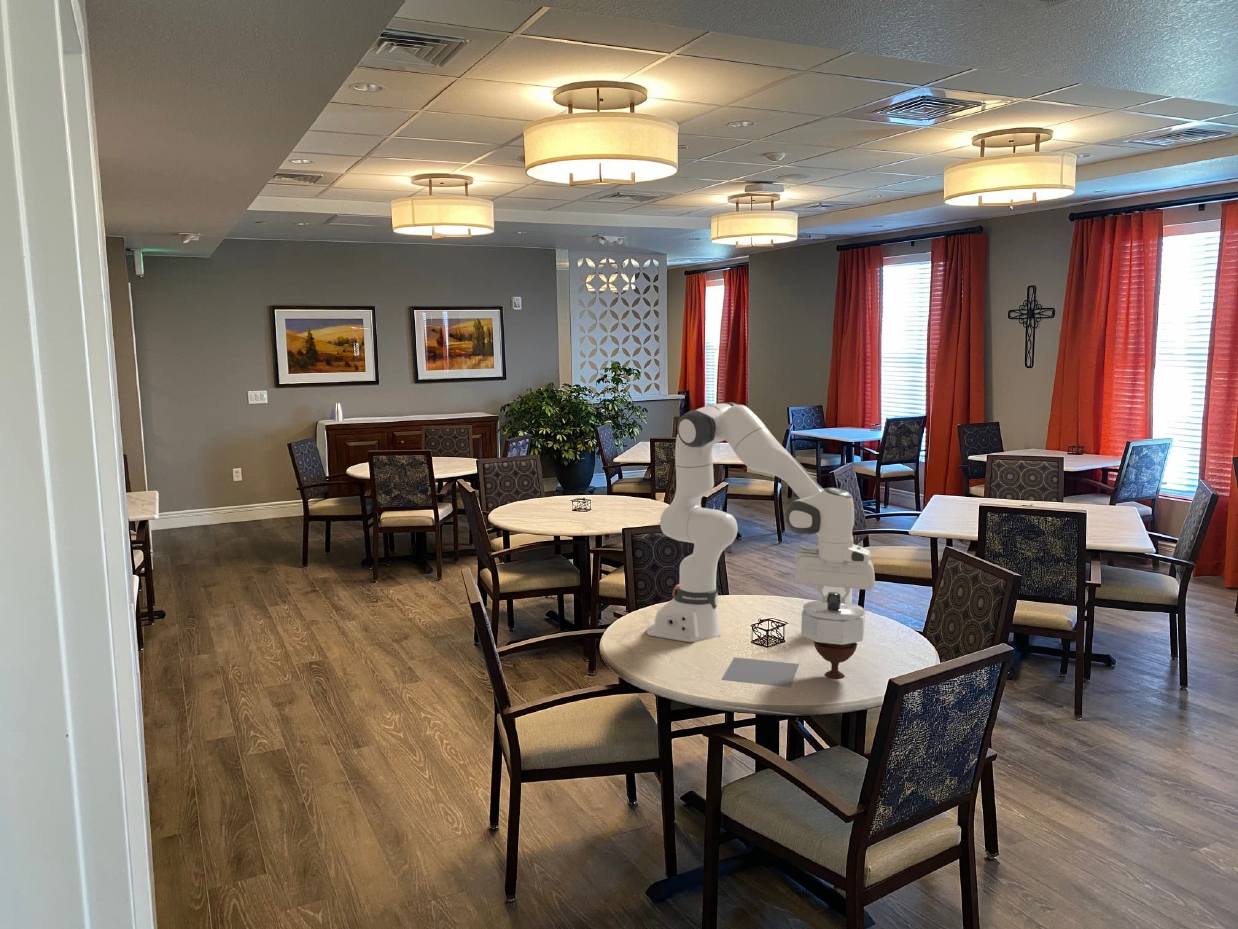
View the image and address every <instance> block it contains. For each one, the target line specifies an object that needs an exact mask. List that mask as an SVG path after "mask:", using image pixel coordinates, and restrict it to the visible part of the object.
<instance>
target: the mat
mask: <svg viewBox="0 0 1238 929" xmlns="http://www.w3.org/2000/svg"><path fill="white" fill-rule="evenodd" d="M799 665H800V663H796V662H795V663H794V662H793V663H792V662H784V661H774V660H773V661H772V660H765V659H755V658H754V659H753V658H746V657H745V658H744V657H737V656H736V657H735V656H734V657H733V658H732V660H731V662H730V664H729V666H728V667H727V669H726V671H725V673H724V675H722V677H721V681H729V682H738V683H748V684H755V685H765V686H766V685H767V686H773V687H775V686H776V687H784V688H791V687H792V686H793V682H794V680H795V677H796V674H797V670H798V668H799Z"/></svg>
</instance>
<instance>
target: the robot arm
mask: <svg viewBox="0 0 1238 929" xmlns="http://www.w3.org/2000/svg"><path fill="white" fill-rule="evenodd" d="M676 427H677V428H676V430H677V435H676V439H675V452H674V453H675V454H674V455H675V457H674V459H675V476H676V478H675V480H676V483H675V484H676V488H675V494H674V496H673V500H672V501H671V503H670V504H669V505H668V506H667V507H666V508H665V509H664V510H663V512H661V516H660V520H659V525H660V529H661V531H662V533H663V535H665V536H666V537H668V538H670V539H672V540H675V541H678V542H685V543H691V544H693V551H692V553H691V554H690V555H688V556H686V557H684V558H683V559H682V560H681V561H680V563H679V583H678V584H676V585H675V586H674V588H673V591H672V597H673V598H672V599H671V600H670V601H668V602H666V603H665V604H664V605H662V606H661V607H660V608H659V609H657V612H656V614H655V617H654V621H653V622H651V623H650V624H649V625H648V626H647V629H646V634H647V635H648V636H651V637H657V638H662V639H668V640H674V641H681V642H685V643H694V642H698V641H705V640H712V639H716V638H718V637H720V636H721V634H722V632H721V628H720V625H719V619H718V611H717V610H718V609H717V607H718V604H719V602H718V601H719V599H718V598H719V597H718V596H719V594H718V588H717V571H718V570H717V569H718V562H719V560H720V557H721V555H722V553H723V551H724V550H725V549H726V548H727V547H729V546H730V545H731V544H733V543H734V541H735V540H736V538H737V534H738V532H739V530H738V522H737V519H736V518H735V517H734V515H732V514H730V513H727V512H725V511H723V510H720V509H715V508H714V509H712V508H707V507H702V498H703V497H705V496H707V495H709V493H710V492H712V490H713V488H714V486H715V478H714V461H713V447H714V445H715V444H719V443H721V442H723V441H725V442H726V443H728V445H729V446H730V447H731V449H732V450H733V452H734V453H735V454H736V456H737V458H738V459H739V460H740V461H741V462H742V463H743V464H744V465H745V466H746V467H747V468H748V469H750V470H752V471H755V472H758V473H763V474H768V475H772V476H774V477H778V478H779V479H781V480H782V481H784V482H785V484H787V485H788V486H789V487H790V489H791V490H792V491H793V493H795V494H796V495H797V496H798V498H799V499H796V500H793V501H792V502H790V503H789V504H788V505H787V506H786V509H785V513H784V518H785V519H784V520H785V524H786V526H787V527H788V530H790V531H791V532H792V533H794V534H796V535H801V536H808V535H817V537H818V542H817V543H818V546H817V547H818V549H813V548H812V549H811V548H810V549H809V548H808V549H807V548H801V549H799V550H797V551H796V552H795V554H794V562H795V564H796V568H795V573H794V574H795V575H794V581H795V582H796V584H799V585H807V586H809V585H810V586H817V591H818V593H819V594H820V596H821V600H822V602H825V603H828V595H825V593H824V591H823V589H824V586H830V587H842V588H845V592H846V593H845V595H844V596H840V604H846V597H847V596H848V595H849V593H850V591H851V588H852V589H855V590H868V591H870V590H873V589H874V587H875V584H876V583H875V582H876V578H875V577H876V576H875V568H874V563H873V561H872V560H871V551H870V549H868V548H865V547H863V546H859V545H857V544H855V543H854V536H853V530H854V529H853V528H854V526H855V504H854V500H853V496H852V494H851V493H850V492H848V491H847V490H844V489H841V488H839V487H838V488H837V487H825V488H823V487H822V486H821V485H820V484H819V483H818V482H817V481H816V479H814V477H813V476H811V474H810V473H809V472H808V471H807V469H805V467H804V466H803V465H802V463H800V462H799V461H798V460H797V458H796V457H794V456H793V455H792V453H790V452H789V451H788V450H787V449H786V448H785V447H783V446H782V444H781V443H780V441H778V440H777V439H776V437H774V435H773V434H772V433H771V431H770V430H769V429H768V427H767V426H766V425H765V423H764V422H763V421H762V420H761V419H760V418H759V417H758V416H757V414H755V413H754V412H753V411H752V410H751V409H750V408H748V407H747V406H746V405H744V404H738V403H735V402H730V401H729V402H727V401H723V402H721V403H714V404H712V403H711V404H708V405H705V406H703V407H700V408H699V407H698V408H697V409H695V410H693V409H692V410H690V411H688V412H686V413H684V414H682V416H680V418H679V419H678V421H677V426H676Z"/></svg>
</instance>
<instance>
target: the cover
mask: <svg viewBox="0 0 1238 929" xmlns="http://www.w3.org/2000/svg"><path fill="white" fill-rule="evenodd" d="M865 614H866V611H865V609H864V607H862V606H861V605H858V604H855V603H848V602H846V604H840V593H837V592H829V593H828V603H825V602H822V599H821V600H813V601H809V602H806V603H804V605H803V606H802V611H801V631H800V634H801V636H803V637H805V638H807V639H810V640H812V641H813V642H814V641H816V642H821V643H831V644H840V645H844V644H849V643H855V642H856V643H860V642H863V640H864V636H865V618H866V617H865V616H866V615H865Z"/></svg>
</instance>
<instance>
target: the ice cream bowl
mask: <svg viewBox="0 0 1238 929" xmlns="http://www.w3.org/2000/svg"><path fill="white" fill-rule="evenodd" d="M813 644H814V648H815V650H816V652H817V653H818V654H819V655H820V656H821V657H822V658H823V659H824V660H825V661H826V662H830V664H831V667H830V668H831V669H830V670H828V671H826V672H825V673H824V674H823V676H825V677H826V678H828V679H832V680H841V679H844V678H845V677H846V675H845V674H844V673H843V672H841V671H840V670H839V665H840V663H844V662H846V661H848V660H849V659H850V658H851V657H852V656H853V655H854V653H855V652H856V650H857V647H858V642H855V643H849V644H844V645H840V644H831V643H821V642H816V641H813Z"/></svg>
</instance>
